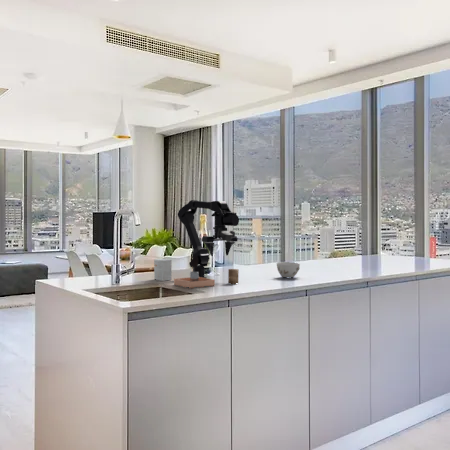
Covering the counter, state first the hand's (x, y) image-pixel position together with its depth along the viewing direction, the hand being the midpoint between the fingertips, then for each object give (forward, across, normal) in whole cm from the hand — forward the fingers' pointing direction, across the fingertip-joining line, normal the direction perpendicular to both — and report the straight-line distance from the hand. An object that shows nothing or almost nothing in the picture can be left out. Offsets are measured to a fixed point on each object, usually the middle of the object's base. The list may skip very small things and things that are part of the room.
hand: (219, 255), depth 266 cm
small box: (+13, -23, +18) cm, 32 cm away
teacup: (+13, +40, -8) cm, 43 cm away
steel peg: (+12, -20, -8) cm, 25 cm away
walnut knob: (+13, +1, -12) cm, 17 cm away
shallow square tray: (+13, -20, -8) cm, 25 cm away
